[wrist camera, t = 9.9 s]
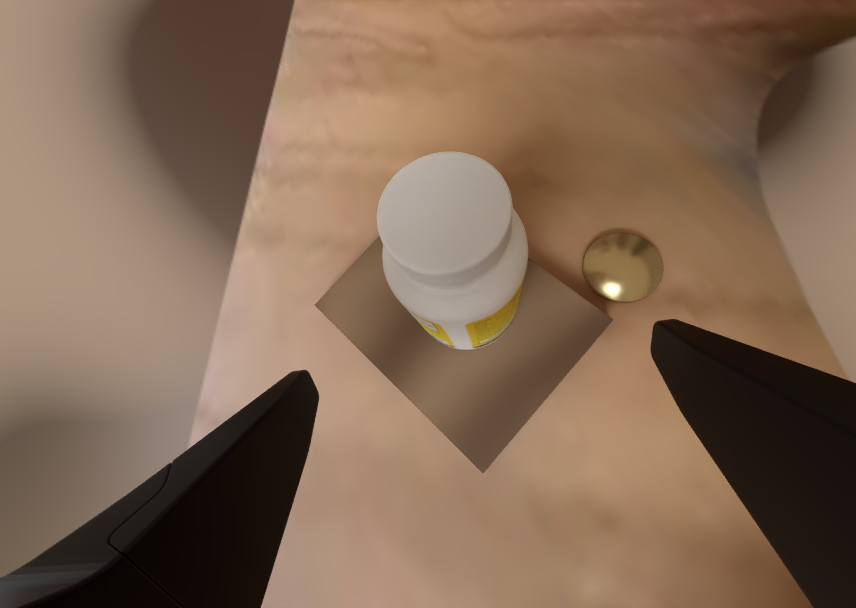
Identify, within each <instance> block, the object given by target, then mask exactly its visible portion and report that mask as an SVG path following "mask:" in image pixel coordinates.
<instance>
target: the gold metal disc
mask: <svg viewBox="0 0 856 608" xmlns="http://www.w3.org/2000/svg"><path fill="white" fill-rule="evenodd" d="M582 268H583V274H584V277H585V280H586V282H587V283H588V285H589V286H590V288H591V289H592V290H593V291H594V292H596V293H597V294H598V295H600V296H601V297H603V298H605V299H607V300H610V301H614V302H620V303H628V302H634V301H638V300H640V299H643V298H644V297H646V296H648V295H649V294H650V293H652V292H653V291H654V290H655V289H656V288H657V286H658V285H659V283H660V281H661V279H662V275H663V263H662V260H661V257H660V255H659V253H658V251H657V250H656V249H655V248H654V246H653V245H652V244H650V243H649V242H648V241H646V240H645V239H643V238H641V237H639V236H637V235H633V234H629V233H612V234H608V235H605V236H603V237H601V238H599V239H598V240H596V241H595V242H594V243H593V244H592V245H591V246H590V247H589V249H588V250H587V252H586V254H585V256H584V259H583V265H582Z"/></svg>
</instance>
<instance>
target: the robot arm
mask: <svg viewBox="0 0 856 608" xmlns="http://www.w3.org/2000/svg"><path fill="white" fill-rule="evenodd" d="M651 355H652V358H653V360H654V362H655V364H656V366H657V368H658V370H659V372H660V373H661V375H662V377H663V379H664V381H665V383H666V385H667V387H668V389H669V391H670V393H671V394H672V396H673V398H674V400H675V402H676V404H677V406H678V407H679V409H680V411H681V413H682V414H683V416H684V417H685V419H686V420H687V422H688V423H689V425H690V426H691V428H692V429H693V431H694V432H695V434H696V435H697V437H698V438H699V440H700V441H701V443H702V444H703V445H704V447H705V448H706V450H707V451H708V453H709V454H710V456H711V457H712V459H713V460H714V462H715V463H716V465H717V466H718V468H719V469H720V471H721V472H722V473H723V475H724V476H725V478H726V479H727V481H728V482H729V484H730V485H731V487H732V488H733V490H734V491H735V493H736V494H737V496H738V497H739V498H740V500H741V501H742V503H743V504H744V506H745V507H746V509H747V510H748V512H749V513H750V515H751V516H752V518H753V519H754V521H755V522H756V523H757V525H758V526H759V528H760V529H761V531H762V532H763V534H764V535H765V537H766V538H767V540H768V541H769V543H770V544H771V546H772V547H773V548H774V550H775V551H776V553H777V554H778V556H779V557H780V559H781V560H782V562H783V563H784V565H785V566H786V568H787V569H788V571H789V572H790V573H791V575H792V576H793V578H794V579H795V581H796V582H797V584H798V585H799V587H800V588H801V590H802V591H803V593H804V594H805V596H806V597H807V599H808V600H809V601H810V603H811V604H812V606H813V607H814V608H856V383H854V382H851V381H848V380H845V379H842V378H840V377H837V376H834V375H831V374H828V373H825V372H823V371H820V370H817V369H814V368H811V367H809V366H806V365H803V364H800V363H797V362H794V361H792V360H789V359H786V358H783V357H780V356H778V355H775V354H772V353H769V352H766V351H763V350H761V349H758V348H755V347H752V346H749V345H747V344H744V343H741V342H738V341H735V340H732V339H730V338H727V337H724V336H721V335H718V334H716V333H713V332H710V331H707V330H704V329H702V328H699V327H696V326H693V325H690V324H687V323H685V322H682V321H679V320H676V319H669V320H662V321H657V322H656V323H655V324H654V326H653V332H652V341H651ZM318 402H319V394H318V390H317V388H316V386H315V384H314V382H313V380H312V378H311V375H310V373H309V372H308V371H307V370H299V371H293V372H291V373H289V374H288V375H287V376H285V377H284V378H283V379H281V380H280V381H279V382H277V383H276V384H275V385H273V386H272V387H271V388H269V389H268V390H267V391H265V392H264V393H263V394H261V395H260V396H259V397H257V398H256V399H255V400H253V401H252V402H251V403H249V404H248V405H247V406H245V407H244V408H243V409H241V410H240V411H239V412H237V413H236V414H235V415H233V416H232V417H231V418H229V419H228V420H227V421H225V422H224V423H223V424H221V425H220V426H219V427H217V428H216V429H215V430H213V431H212V432H211V433H209V434H208V435H207V436H205V437H204V438H203V439H201V440H200V441H199V442H197V443H196V444H195V445H193V446H192V447H191V448H189V449H188V450H187V451H185V452H184V453H183V454H181V455H180V456H179V457H177V458H176V459H175V460H173V462H172V463H169V464H168V465H166V466H165V467H164V468H162V469H161V470H160V471H159V472H157V473H156V474H155V475H153V476H152V477H150V478H149V479H148V480H146V481H145V482H144V483H142V484H141V485H139V486H138V487H137V488H135V489H134V490H133V491H131V492H130V493H128V494H127V495H126V496H124V497H123V498H121V499H120V500H118V501H117V502H116V503H114V504H113V505H111V506H110V507H108V508H107V509H106V510H104V511H103V512H101V513H100V514H98V515H97V516H95V517H94V518H92V519H91V520H89V521H88V522H87V523H85V524H84V525H82V526H81V527H79V528H78V529H77V530H75V531H74V532H72V533H70V534H69V535H68V536H66V537H65V538H63V539H62V540H60V541H59V542H57V543H56V544H54V545H53V546H51V547H50V548H49V549H47V550H46V551H44V552H43V553H41V554H40V555H39V556H37V557H36V558H34V559H32V560H31V561H29V562H28V563H26V564H25V565H23V566H22V567H20V568H18V569H16V570H15V571H13V572H11V573H9V574H7V575H5V576H3V577H1V578H0V608H261V605H262V602H263V599H264V595H265V592H266V589H267V586H268V582H269V579H270V576H271V573H272V569H273V566H274V563H275V560H276V556H277V553H278V550H279V547H280V543H281V540H282V537H283V534H284V530H285V527H286V524H287V521H288V517H289V514H290V511H291V508H292V504H293V501H294V498H295V495H296V491H297V488H298V485H299V482H300V478H301V475H302V472H303V468H304V465H305V462H306V459H307V455H308V452H309V447H310V443H311V438H312V433H313V428H314V423H315V417H316V412H317V407H318Z"/></svg>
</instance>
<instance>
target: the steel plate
mask: <svg viewBox="0 0 856 608" xmlns="http://www.w3.org/2000/svg"><path fill="white" fill-rule="evenodd" d="M382 251H383V243H382V241H381V238H380V236H379V237H378V238H377V239H376V240H375V241H374V243H373V244H372V245H371V246H370V247H369V248H368V249H367V250H366V251H365V252H364V253H363V254H362V255H361V256H360V257H359V258H358V259H357V261H356V262H355V263H354V264H353V265H352V266H351V267H350V268H349V269H348V270H347V271H346V272H345V273H344V274H343V275H342V276H341V277H340V279H339V280H338V281H337V282H336V283H335V284H334V285H333V286H332V287H331V288H330V289H329V290H328V291H327V292H326V293H325V294H324V296H323V297H322V298H321V299H320V300H319V301H318V302H317V303H316V304H315V306H316V307H317V308H318V309H319V310H320V311H321V312H322V313H323V314H324V315H325V316H326V317H327V318H328V319H329V320H330V321H331V322H332V323H333V324H334V325H335V326H336V327H337V328H338V329H339V330H340V331H341V332H342V333H343V334H344V335H345V336H346V337H347V338H348V339H349V340H350V341H351V342H352V343H353V344H354V345H355V346H356V347H357V348H358V349H359V350H360V351H361V352H362V353H363V354H364V355H365V356H366V357H367V358H368V359H369V360H370V361H371V362H372V363H373V364H374V365H375V366H376V367H377V368H378V369H379V370H380V371H381V372H382V373H383V374H384V375H385V376H386V377H387V378H388V379H389V380H390V381H391V382H392V383H393V384H394V385H395V386H396V387H397V388H398V389H399V390H400V391H401V392H402V393H403V394H404V395H405V396H406V397H407V398H408V399H409V400H410V401H411V402H412V403H413V404H414V405H415V406H416V407H417V408H418V409H419V410H420V411H421V412H422V413H423V414H424V415H425V416H426V417H427V418H428V419H429V420H430V421H431V422H432V423H433V424H434V425H435V426H436V427H437V428H438V429H439V430H440V431H441V432H442V433H443V434H444V435H445V436H446V437H447V438H448V439H449V440H450V441H451V442H452V443H453V444H454V445H455V446H456V447H457V448H458V449H459V450H460V451H461V452H462V453H463V454H464V455H465V456H466V457H467V458H468V459H469V460H470V461H471V462H472V463H473V464H474V465H475V466H476V467H477V468H478V469H479V470H480V471H481V472H482V473H484V472H485V471H486V469H487V468H488V467H489V466H490V465H491V463H492V462H493V461H494V460H495V459H496V458H497V456H498V455H499V454H500V453H501V452H502V450H503V449H504V448H505V447H506V446H507V445H508V443H509V442H510V441H511V440H512V439H513V438H514V436H515V435H516V434H517V433H518V432H519V430H520V429H521V428H522V427H523V426H524V425H525V423H526V422H527V421H528V420H529V419H530V417H531V416H532V415H533V414H534V413H535V412H536V410H537V409H538V408H539V407H540V406H541V404H542V403H543V402H544V401H545V400H546V399H547V397H548V396H549V395H550V394H551V393H552V391H553V390H554V389H555V388H556V387H557V386H558V384H559V383H560V382H561V381H562V380H563V378H564V377H565V376H566V375H567V374H568V373H569V371H570V370H571V369H572V368H573V367H574V365H575V364H576V363H577V362H578V361H579V360H580V358H581V357H582V356H583V355H584V354H585V352H586V351H587V350H588V349H589V348H590V347H591V345H592V344H593V343H594V342H595V341H596V339H597V338H598V337H599V336H600V335H601V334H602V332H603V331H604V330H605V329H606V328H607V326H608V325H609V324H610V323H611V322H612V321H613V319H612V318H611V317H609V316H608V315H606V314H605V313H604V312H602V311H601V310H599V309H598V308H597V307H595V306H594V305H593V304H591V303H590V302H588V301H587V300H586V299H584V298H583V297H582V296H580V295H579V294H577V293H576V292H575V291H573V290H572V289H570V288H569V287H568V286H566V285H565V284H564V283H562V282H561V281H559V280H558V279H557V278H555V277H554V276H552V275H551V274H550V273H548V272H547V271H546V270H544V269H543V268H541V267H540V266H539V265H537V264H536V263H534V262H533V261H532V260H530V259H529V258H528V261H527V269H526V273H525V277H524V281H523V285H522V289H521V293H520V297H519V302H518V307H517V311H516V314H515V317H514V319H513V321H512V323H511V325H510V327H509V328H508V330H507V331H506V332H505V333H504V334H503V335H502V336H501V337H500V338H499V339H497V340H496V341H494V342H493V343H491V344H489V345H487V346H484V347H481V348H477V349H471V350H462V349H456V348H452V347H449V346H446V345H444V344H442V343H441V342H439V341H437V340H436V339H435V338H434V337H432V336H431V335H430V334H429V333H428V332H427V331H426V330H425V329H424V328H423V326H422V325H421V324H420V323H419V322H418V321H417V320H416V319H415V318H414V317H413V316H412V315H411V313H410V312H409V311H408V310H407V309H406V308H405V307H404V306H403V305H402V304H401V302H400V301H399V300H398V299H397V298H396V296H395V295H394V293H393V292H392V290H391V288H390V286H389V284H388V282H387V280H386V277H385V273H384V269H383V261H382Z"/></svg>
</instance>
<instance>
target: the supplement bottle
mask: <svg viewBox="0 0 856 608" xmlns="http://www.w3.org/2000/svg"><path fill="white" fill-rule="evenodd" d="M377 227H378V232H379V236H380V238H381V241H382V243H383V251H382V261H383V269H384V273H385V277H386V280H387V282H388V284H389V286H390V288H391V290H392V292H393V293H394V295H395V296H396V298H397V299H398V300H399V301H400V302H401V304H402V305H403V306H404V307H405V308H406V309H407V310H408V311H409V312H410V313H411V315H412V316H413V317H414V318H415V319H416V320H417V321H418V322H419V323H420V324H421V325H422V326H423V328H424V329H425V330H426V331H427V332H428V333H429V334H430V335H431V336H432V337H434V338H435V339H436V340H437V341H439V342H441V343H442V344H444V345H446V346H449V347H452V348H456V349H462V350H471V349H477V348H481V347H484V346H487V345H489V344H491V343H493V342H494V341H496V340H497V339H499V338H500V337H501V336H502V335H503V334H504V333H505V332H506V331H507V330H508V328H509V327H510V325H511V323H512V321H513V319H514V317H515V314H516V311H517V307H518V302H519V297H520V293H521V289H522V285H523V281H524V277H525V273H526V269H527V261H528V242H527V236H526V231H525V228H524V225H523V223H522V221H521V219H520V217H519V216H518V214H517V213H516V211H515V210H514V209H513V205H512V197H511V193H510V190H509V187H508V185H507V183H506V181H505V179H504V178H503V176H502V175H501V174H500V172H499V171H498V170H497V169H496V168H495V167H494V166H492V165H491V164H490V163H488V162H487V161H485V160H484V159H482V158H480V157H477V156H475V155H472V154H468V153H464V152H457V151H444V152H436V153H432V154H428V155H425V156H422V157H420V158H418V159H416V160H414V161H412V162H410V163H409V164H407V165H406V166H404V167H403V168H402V169H401V170H399V171H398V172H397V173H396V174H395V175H394V176H393V177H392V179H391V180H390V181H389V183H388V184H387V186H386V187H385V189H384V191H383V193H382V196H381V198H380V200H379V204H378V209H377Z"/></svg>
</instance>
